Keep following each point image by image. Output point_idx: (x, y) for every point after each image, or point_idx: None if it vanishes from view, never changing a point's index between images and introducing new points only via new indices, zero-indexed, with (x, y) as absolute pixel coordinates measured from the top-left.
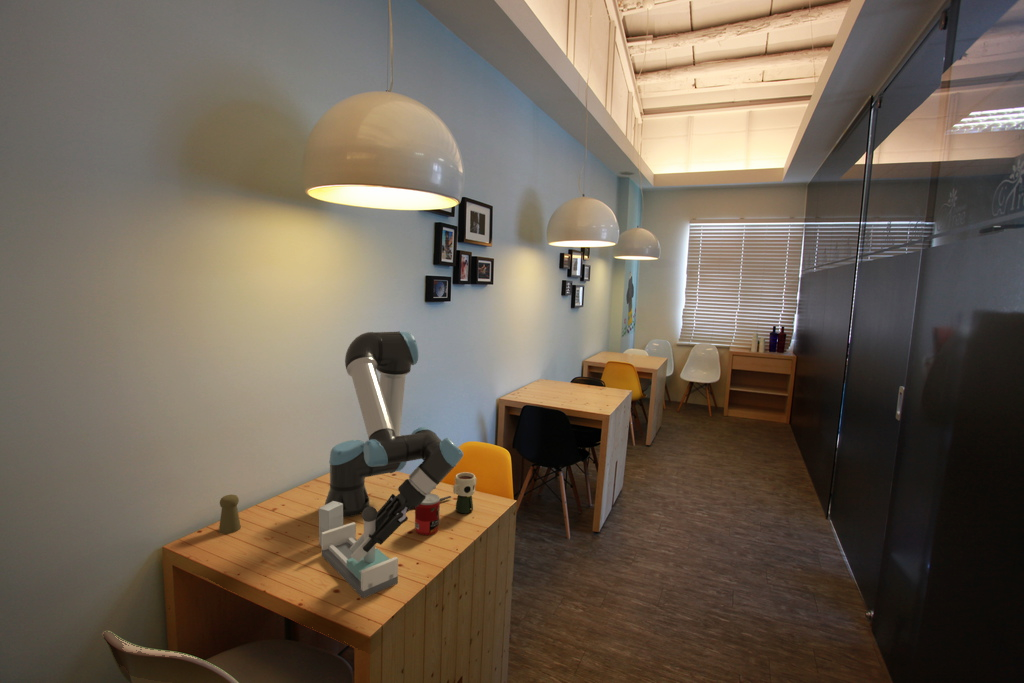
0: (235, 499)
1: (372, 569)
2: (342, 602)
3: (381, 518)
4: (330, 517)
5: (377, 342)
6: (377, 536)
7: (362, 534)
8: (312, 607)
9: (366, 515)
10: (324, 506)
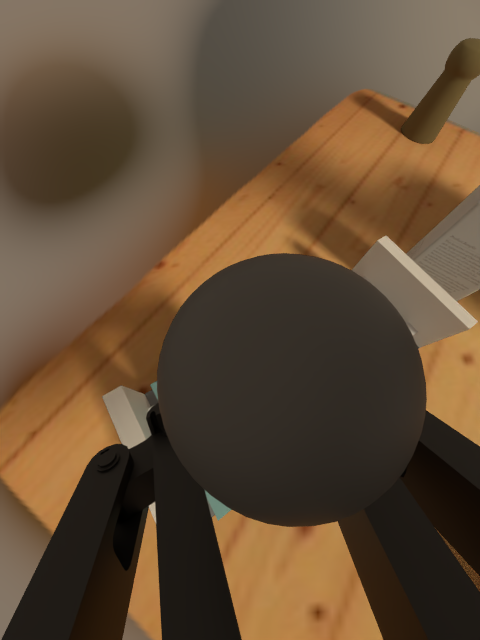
0: (475, 56)
1: (119, 435)
2: (138, 350)
3: (362, 524)
4: (459, 232)
5: None
6: (76, 491)
7: None
8: (139, 288)
9: (171, 323)
10: None
